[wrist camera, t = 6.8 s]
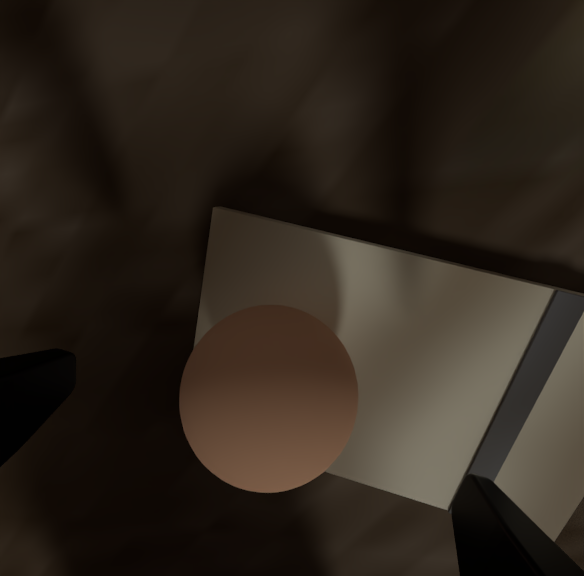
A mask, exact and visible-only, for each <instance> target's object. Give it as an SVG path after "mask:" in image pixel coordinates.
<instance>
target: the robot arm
mask: <svg viewBox="0 0 584 576" xmlns="http://www.w3.org/2000/svg"><path fill="white" fill-rule="evenodd" d="M75 384H76V357H75V355H74V354H73V353H71V352H68V351H65V350H62V349H50V350H44V351H39V352H33V353H28V354H22V355H17V356H11V357H6V358H0V467H1V466H2V465H3V464H4V463H5V462H6V461H7V460H8V459H9V458H10V457H11V456H12V455H14V454H15V453H16V452H17V451H18V450H19V449H20V448H21V447H22V446H23V444H24V443H25V442H26V441H27V440H28V439H29V438H30V437H31V436H32V435H33V434H34V433H35V432H36V431H37V430H38V428H39V427H40V426H41V425H42V424H43V423H44V422H45V421H46V420H47V419H48V418H49V417H50V416H51V414H52V413H53V412H54V411H55V410H56V409H57V408H58V407H59V406H60V405H61V404H62V403H63V401H64V400H65V399H66V398H67V397H68V396H69V395H70V394H71V392H72V391H73V389H74V387H75ZM451 514H452V522H453V529H454V536H455V543H456V550H457V558H458V565H459V572H460V576H584V571H583V570H582V569H581V568H580V567H579V566H578V565H577V564H576V563H575V562H574V561H573V560H572V559H571V558H570V557H569V556H568V555H567V554H566V553H565V552H564V551H563V550H562V549H561V548H560V547H559V546H558V545H557V544H556V543H555V542H554V541H553V540H552V539H551V538H550V537H549V536H547V535H546V534H545V533H544V532H543V531H542V530H541V529H540V528H539V527H538V526H537V525H536V524H535V523H534V522H533V521H532V520H531V519H530V518H529V517H528V516H527V515H526V514H525V513H524V512H523V511H522V510H521V509H520V508H519V507H518V506H517V505H516V504H515V503H514V502H513V501H512V500H511V499H510V498H509V497H508V496H507V495H506V494H505V493H504V492H503V491H502V490H501V489H500V488H499V487H498V486H497V485H496V484H495V483H494V482H493V481H492V480H490V479H489V478H486V477H483V476H480V475H476V474H473V473H469V474H467V475H466V476H465V477H464V479H463V481H462V483H461V485H460V487H459V489H458V491H457V493H456V495H455V497H454V499H453V502H452V508H451Z"/></svg>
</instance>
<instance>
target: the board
mask: <svg viewBox="0 0 584 576" xmlns="http://www.w3.org/2000/svg"><path fill="white" fill-rule="evenodd" d="M259 305H283V306H288V307H293V308H296V309H299V310H302V311H304V312H306V313H308V314H310V315H312V316H314V317H315V318H317V319H319V320H320V321H321V322H323V323H324V324H325V325H326V326H327V327H329V328H330V329H331V330H332V331H333V332H334V333H335V335H336V336H337V337H338V338H339V339H340V341H341V342H342V344H343V345H344V347H345V349H346V350H347V352H348V354H349V356H350V358H351V361H352V364H353V366H354V369H355V374H356V378H357V383H358V410H357V416H356V420H355V424H354V427H353V431H352V433H351V435H350V438H349V440H348V442H347V444H346V446H345V447H344V449H343V451H342V452H341V454H340V455H339V456H338V457H337V459H336V460H335V461H334V462H333V463H332V464H331V465H330V467H329V468H328V469H326V470H325V472H328V473H331V474H334V475H337V476H341V477H344V478H347V479H350V480H353V481H357V482H360V483H363V484H366V485H369V486H372V487H376V488H379V489H382V490H385V491H388V492H391V493H395V494H398V495H401V496H404V497H407V498H411V499H414V500H417V501H420V502H423V503H426V504H430V505H433V506H436V507H439V508H442V509H446V510H448V512H449V513H450V514H451V508H452V502H453V499H454V497H455V495H456V493H457V491H458V489H459V487H460V485H461V483H462V481H463V479H464V477H465V476H466V475H467V474H469V473H473V474H476V475H480V476H483V477H486V478H489V479H490V480H492V481H493V482H494V483H495V484H496V485H497V486H498V487H499V488H500V489H501V490H502V491H503V492H504V493H505V494H506V495H507V496H508V497H509V498H510V499H511V500H512V501H513V502H514V503H515V504H516V505H517V506H518V507H519V508H520V509H521V510H522V511H523V512H524V513H525V514H526V515H527V516H528V517H529V518H530V519H531V520H532V521H533V522H534V523H535V524H536V525H537V526H538V527H539V528H540V529H541V530H542V531H543V532H544V533H545V534H546V535H547V536H549V537H550V538H551V539H552V540H553V541H555V540H556V538H557V537H558V535H559V534H560V532H561V531H562V529H563V528H564V526H565V524H566V523H567V521H568V520H569V518H570V517H571V515H572V514H573V512H574V511H575V509H576V508H577V506H578V504H579V503H580V501H581V500H582V498H583V497H584V294H583V293H579V292H575V291H571V290H567V289H563V288H558V287H554V286H550V285H546V284H542V283H538V282H533V281H529V280H525V279H521V278H517V277H513V276H508V275H504V274H500V273H496V272H492V271H488V270H483V269H479V268H475V267H471V266H467V265H463V264H458V263H454V262H450V261H446V260H442V259H438V258H433V257H429V256H425V255H421V254H417V253H413V252H408V251H404V250H400V249H396V248H392V247H388V246H383V245H379V244H375V243H371V242H367V241H363V240H358V239H354V238H350V237H346V236H342V235H338V234H333V233H329V232H325V231H321V230H317V229H313V228H308V227H304V226H300V225H296V224H292V223H288V222H283V221H279V220H275V219H271V218H267V217H263V216H258V215H254V214H250V213H246V212H242V211H238V210H233V209H229V208H225V207H221V206H220V207H213V211H212V219H211V226H210V233H209V240H208V248H207V255H206V262H205V269H204V277H203V284H202V291H201V298H200V306H199V313H198V320H197V328H196V335H195V342H194V348H195V346H196V345H197V344H198V342H199V341H200V340H201V339H202V337H203V336H204V335H205V333H207V332H208V331H209V330H210V329H211V328H212V327H213V326H214V325H215V324H217V323H218V322H219V321H221V320H222V319H224V318H225V317H227V316H229V315H231V314H233V313H235V312H237V311H240V310H243V309H246V308H249V307H254V306H259ZM193 350H194V349H193Z"/></svg>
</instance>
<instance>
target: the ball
mask: <svg viewBox="0 0 584 576" xmlns="http://www.w3.org/2000/svg"><path fill="white" fill-rule="evenodd" d="M179 408H180V416H181V421H182V425H183V430H184V433H185V435H186V438H187V440H188V442H189V444H190V446H191V448H192V450H193V451H194V453H195V454H196V456H197V457H198V459H199V460H200V461H201V462H202V463H203V465H204V466H205V467H206V468H207V469H208V470H210V471H211V472H212V473H213V474H214V475H216V476H217V477H218V478H220V479H221V480H223V481H225V482H226V483H228V484H230V485H232V486H235V487H237V488H240V489H244V490H247V491H253V492H261V493H274V492H282V491H287V490H290V489H293V488H296V487H299V486H302V485H304V484H306V483H308V482H310V481H311V480H313V479H315V478H316V477H317V476H319V475H320V474H322V473H323V472H324V471H325V470H326V469H328V468H329V467H330V465H331V464H332V463H333V462H334V461H335V460H336V459H337V457H338V456H339V455H340V454H341V452H342V451H343V449H344V447H345V446H346V444H347V442H348V440H349V438H350V435H351V433H352V431H353V427H354V424H355V420H356V416H357V410H358V383H357V378H356V374H355V369H354V366H353V364H352V361H351V358H350V356H349V354H348V352H347V350H346V349H345V347H344V345H343V344H342V342H341V341H340V339H339V338H338V337H337V336H336V335H335V333H334V332H333V331H332V330H331V329H330V328H329V327H327V326H326V325H325V324H324V323H323V322H321V321H320V320H319V319H317V318H315V317H314V316H312V315H310V314H308V313H306V312H304V311H302V310H299V309H296V308H293V307H288V306H283V305H259V306H254V307H249V308H246V309H243V310H240V311H237V312H235V313H233V314H231V315H229V316H227V317H225V318H224V319H222V320H221V321H219V322H218V323H217V324H215V325H214V326H213V327H212V328H211V329H210V330H209V331H208V332H207V333H205V335H204V336H203V337H202V339H201V340H200V341H199V342H198V344H197V345H196V346H195V348H194V350H193V351H192V353H191V355H190V357H189V359H188V361H187V364H186V366H185V369H184V372H183V376H182V380H181V385H180V396H179Z"/></svg>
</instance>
